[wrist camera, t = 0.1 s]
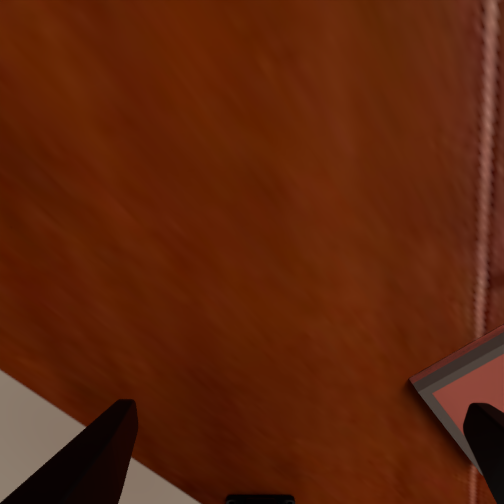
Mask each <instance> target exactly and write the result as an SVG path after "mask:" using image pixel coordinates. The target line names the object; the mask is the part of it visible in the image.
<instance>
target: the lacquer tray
mask: <svg viewBox="0 0 504 504" xmlns="http://www.w3.org/2000/svg"><path fill="white" fill-rule="evenodd" d="M409 379H410V381H411V382H412V384H413V386H414V387H415V389H416V390H417V392H418V393H419V394H420V396H421V397H422V398H423V399H424V401H425V402H426V403H427V405H428V406H429V407H430V408H431V410H432V411H433V412H434V414H435V415H436V416H437V418H438V419H439V420H440V421H441V423H442V424H443V425H444V427H445V428H446V429H447V430H448V432H449V433H450V434H451V436H452V437H453V438H454V440H455V441H456V442H457V443H458V445H459V446H460V447H461V449H462V450H463V451H464V452H465V454H466V455H467V456H468V458H469V459H470V460H471V462H472V463H473V464H474V465H475V467H476V468H477V469H478V471H479V472H480V473H481V474H482V472H481V470H480V468H479V465H478V463H477V461H476V459H475V457H474V455H473V453H472V451H471V448H470V446H469V444H468V442H467V440H466V438H465V436H464V433H463V423H464V419H465V416H466V413H467V410H468V407H469V405H470V404H471V403H488V404H490V405H492V406H494V407H495V408H497V409H499V410H500V411H502V412H503V413H504V324H503V325H502V326H500V327H498V328H496V329H495V330H493V331H491V332H489V333H488V334H486V335H484V336H482V337H481V338H479V339H477V340H475V341H474V342H472V343H470V344H468V345H467V346H465V347H463V348H461V349H460V350H458V351H456V352H454V353H453V354H451V355H449V356H447V357H446V358H444V359H442V360H440V361H439V362H437V363H435V364H433V365H432V366H430V367H428V368H426V369H425V370H423V371H421V372H419V373H418V374H416V375H414V376H412V377H411V378H409ZM482 475H483V474H482Z"/></svg>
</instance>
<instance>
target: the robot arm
mask: <svg viewBox="0 0 504 504" xmlns="http://www.w3.org/2000/svg"><path fill="white" fill-rule="evenodd" d="M137 431H138V417H137V409H136V403H135V401H134V400H133V399H119V400H117V401H116V402H115V403H114V404H113V405H111V406H110V407H109V408H108V409H107V410H106V411H105V412H103V413H102V414H101V415H100V416H99V417H98V418H97V419H95V420H94V421H93V422H92V423H91V424H90V425H89V426H87V427H86V428H85V429H84V430H83V431H82V432H81V433H80V434H78V435H77V436H76V437H75V438H74V439H73V440H71V441H70V442H69V443H68V444H67V445H66V446H65V447H63V449H61V450H60V451H59V452H58V453H57V454H55V455H54V456H53V457H52V458H51V459H50V460H49V461H48V462H46V463H45V464H44V465H43V466H42V467H41V468H39V469H38V470H37V471H36V472H35V473H34V474H33V475H31V476H30V477H29V478H28V479H27V480H26V481H25V482H23V483H22V484H21V485H20V486H19V487H18V488H17V489H15V490H14V491H13V492H12V493H11V494H10V495H9V496H7V497H6V498H5V499H4V500H3V501H2V502H1V503H0V504H118V502H119V499H120V496H121V493H122V489H123V486H124V482H125V478H126V474H127V470H128V466H129V462H130V459H131V455H132V451H133V447H134V443H135V439H136V435H137ZM463 433H464V436H465V438H466V440H467V442H468V444H469V446H470V448H471V451H472V453H473V455H474V457H475V459H476V461H477V463H478V465H479V468H480V470H481V472H482V474H483V476H484V478H485V480H486V482H487V485H488V487H489V489H490V491H491V493H492V495H493V497H494V499H495V500H496V502H497V504H504V413H503V412H502V411H500V410H499V409H497V408H495V407H494V406H492V405H490V404H488V403H471V404H470V405H469V407H468V410H467V413H466V416H465V419H464V423H463ZM226 504H295V499H294V497H293V496H289V495H230V496H228V497H227V500H226Z"/></svg>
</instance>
